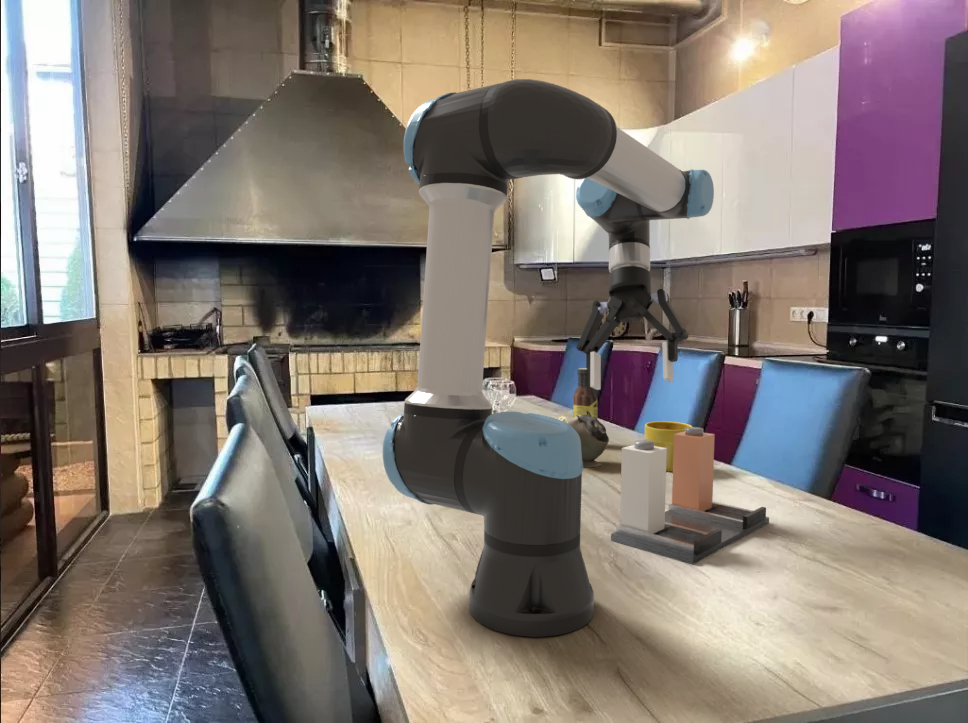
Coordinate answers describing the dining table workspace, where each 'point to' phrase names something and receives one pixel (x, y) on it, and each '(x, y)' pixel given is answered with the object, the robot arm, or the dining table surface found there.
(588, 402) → the sauce bottle
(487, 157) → the robot arm
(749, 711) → the dining table surface
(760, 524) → the dark grey divided tray
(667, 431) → the plant pot
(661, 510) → the white square bottle
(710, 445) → the orange square bottle
